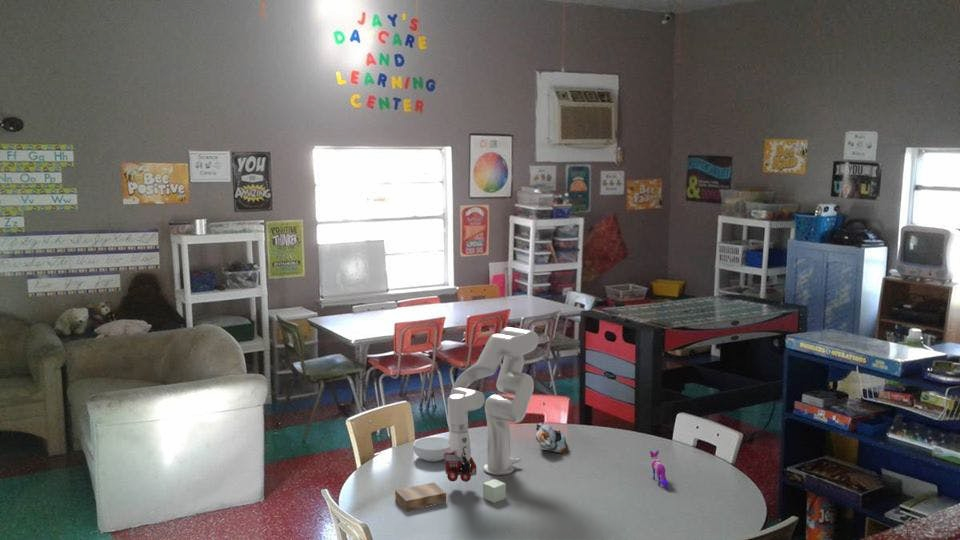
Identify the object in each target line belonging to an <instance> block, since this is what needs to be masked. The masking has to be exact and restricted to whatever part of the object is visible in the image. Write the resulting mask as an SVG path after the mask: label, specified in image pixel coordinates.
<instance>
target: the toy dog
mask: <svg viewBox="0 0 960 540" xmlns="http://www.w3.org/2000/svg"><path fill="white" fill-rule="evenodd" d="M659 452H660V451H659V450H657V451H655V452H653V451H651V450H650V451H649V453H650V458H651V469H652V473H653V477H652V479H653V480H655V478H656V477H657V478H658V483H657V485H658V486H660V485H661V484H662V486H663V487H665V488H667V487H668V486H669V484H668V479H667V477H666V467H665V466H664V465H663V464H662V462H661V461H660V459H659V457H658V455H659Z"/></svg>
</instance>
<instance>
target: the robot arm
mask: <svg viewBox="0 0 960 540" xmlns="http://www.w3.org/2000/svg"><path fill="white" fill-rule="evenodd" d="M539 341H540V340H539V336H538V334H537V332H535V331H534V330H530V329H525V328H520V327H511V326H510V327H503V328H502V329H501V331H500V333H493V334H491V336H490V337H489V338H488V339H487V342H486V343H485V345H484V348H483V349H482V351H481V353H480V355H479V356H478V359H477V361H476V362H475V364H472V365H471V366H469V367H468V368H466V369H465V370H464V371H463V372H461V374H460V375H459V376H458V377H457V378H456V380H455V381H454V384H453V386H452V387H451V390H450V394H449V396H448V398H447V418H448V420H447V421H448V432H449V434H448V435H449V446H450V453H454V454H455V455H457V456H458V457H460V458H461V461H462V464H461V472H462V474H464V473H468V472H470V469H469V463H470V457H472V456H471V454H472V452H471V451H472V450H471V449H472V448H471V439H470V435H469V418H468V416H469V414H468V413H469V412H472V411H477V410H480V409H481V408H482V407H483V406H484V413H485V417H486V427H487V428H486V431H487V432H486V434H487V435H486V436H487V437H486V442H487V443H486V444H487V446H486V448H487V450H486V451H487V452H486V454H487V456H486V457H487V458H486V460H487V461H486V463H485V464H483V471H484V472H485V473H487V474H489V475H492V476H493V475H494V476H505V475H510V474H511V473H513V472H514V470H515V467H514V465H515V464H519V463H521V461H522V460H521V458H520V457H517V458H515V457H514V456H512V457H511V426H510V422H511V423H515V424H517V423H520V422H522V421H523V419H525V416H526V414H527V411H528V409H529V408H528V407H529V405H530V402H531V399H532V396H533V393H534V388H535V385H534V384H535V383H534V379H533V377H532V376H531V375H530V374H527V373H524V372H523V368H524V365H525V358H524V355H527V354H528V353H531V352H533V351H535V349H536V348H537V347H538V345H539ZM502 361H503V362H502ZM501 362H502V365H501V368H500V370H499V373H498V377H497V379H496V384H495V385H496V388H497V390H498V391H499V392H501V393H502V394H503V393H504V394H507V395H511V396H514V397H511V396H510V397H509V396H506V395H502V394H492V395H490V396H488V397H487V398H486V396H485V394H484V393H483V392H482V391H480V390H477V389H473V388H469V386H470V385H471V384H472V383H473V382H475V381H478V380H480V379H484V378H487V377H490V376H493V375H495V373H496V372H497V370H498V368H499V366H500V364H501ZM522 372H523V373H522ZM464 454H465V455H464ZM462 455H463V456H462ZM464 457H466V459H465V460H464V459H463V458H464Z"/></svg>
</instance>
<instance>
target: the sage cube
mask: <svg viewBox="0 0 960 540" xmlns="http://www.w3.org/2000/svg"><path fill="white" fill-rule="evenodd" d="M482 484H483V485H482V498H483V499H484V500H486V501H489V502H491V503H494V504H495V503H497V502H500V501H503V500H506V497H507V495H506V487H507V486H506V485H507V484H506V483H505V482H503V481H500V480H498V479H496V478H493V479H491V480H488V481H486V482H483V483H482Z"/></svg>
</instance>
